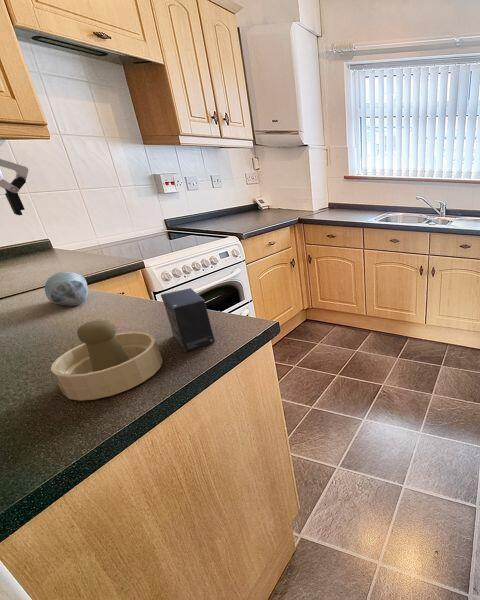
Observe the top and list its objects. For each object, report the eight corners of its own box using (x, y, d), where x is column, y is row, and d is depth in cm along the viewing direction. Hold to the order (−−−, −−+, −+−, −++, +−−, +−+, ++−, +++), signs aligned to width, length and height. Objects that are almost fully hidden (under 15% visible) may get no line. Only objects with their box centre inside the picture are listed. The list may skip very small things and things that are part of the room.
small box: (217, 341, 75) (206, 299, 71) (185, 353, 71) (170, 308, 67) (202, 326, 82) (191, 286, 78) (172, 335, 78) (158, 294, 74)
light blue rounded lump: (98, 292, 94) (63, 264, 89) (63, 315, 90) (25, 288, 86) (102, 289, 105) (71, 264, 100) (71, 310, 101) (38, 285, 96)
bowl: (48, 412, 55) (33, 385, 53) (82, 365, 67) (71, 341, 65) (155, 388, 61) (145, 362, 58) (168, 348, 73) (160, 326, 71)
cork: (128, 361, 68) (108, 312, 63) (140, 371, 64) (120, 320, 60) (90, 376, 63) (66, 324, 59) (101, 388, 60) (76, 334, 56)
